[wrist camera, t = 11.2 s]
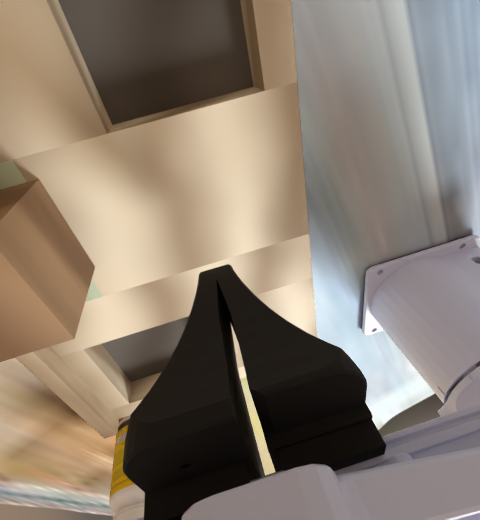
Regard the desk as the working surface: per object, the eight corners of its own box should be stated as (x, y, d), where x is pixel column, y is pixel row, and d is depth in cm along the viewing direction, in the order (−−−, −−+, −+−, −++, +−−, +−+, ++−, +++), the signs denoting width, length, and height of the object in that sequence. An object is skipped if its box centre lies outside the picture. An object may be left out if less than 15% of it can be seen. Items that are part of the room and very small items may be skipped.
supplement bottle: (106, 423, 27) (89, 544, 21) (150, 401, 27) (147, 517, 20) (138, 440, 30) (133, 552, 24) (179, 421, 30) (185, 528, 23)
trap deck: (258, -148, 11) (291, -212, 8) (308, 334, 27) (324, 365, 24) (-281, -27, 10) (-443, -56, 7) (109, 399, 26) (104, 438, 23)
